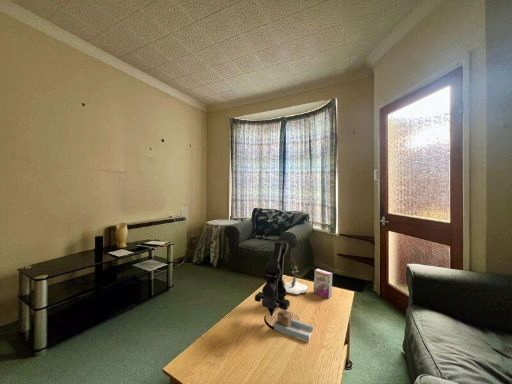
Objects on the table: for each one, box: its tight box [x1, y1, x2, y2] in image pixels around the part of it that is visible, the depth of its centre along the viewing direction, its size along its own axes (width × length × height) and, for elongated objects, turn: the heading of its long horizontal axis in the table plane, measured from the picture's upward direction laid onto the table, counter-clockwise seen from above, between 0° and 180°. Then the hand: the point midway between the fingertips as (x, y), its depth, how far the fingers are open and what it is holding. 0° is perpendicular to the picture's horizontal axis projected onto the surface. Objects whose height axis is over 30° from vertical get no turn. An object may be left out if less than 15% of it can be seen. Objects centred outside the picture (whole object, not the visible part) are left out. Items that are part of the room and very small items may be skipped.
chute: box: [273, 318, 314, 343], centre depth 111 cm, size 18×9×3 cm, turn 62°
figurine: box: [284, 265, 309, 295], centre depth 155 cm, size 20×18×16 cm
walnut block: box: [276, 309, 293, 328], centre depth 113 cm, size 6×5×7 cm
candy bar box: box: [313, 268, 333, 299], centre depth 148 cm, size 11×5×16 cm, turn 47°
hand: (271, 315), depth 117 cm, fingers closed
